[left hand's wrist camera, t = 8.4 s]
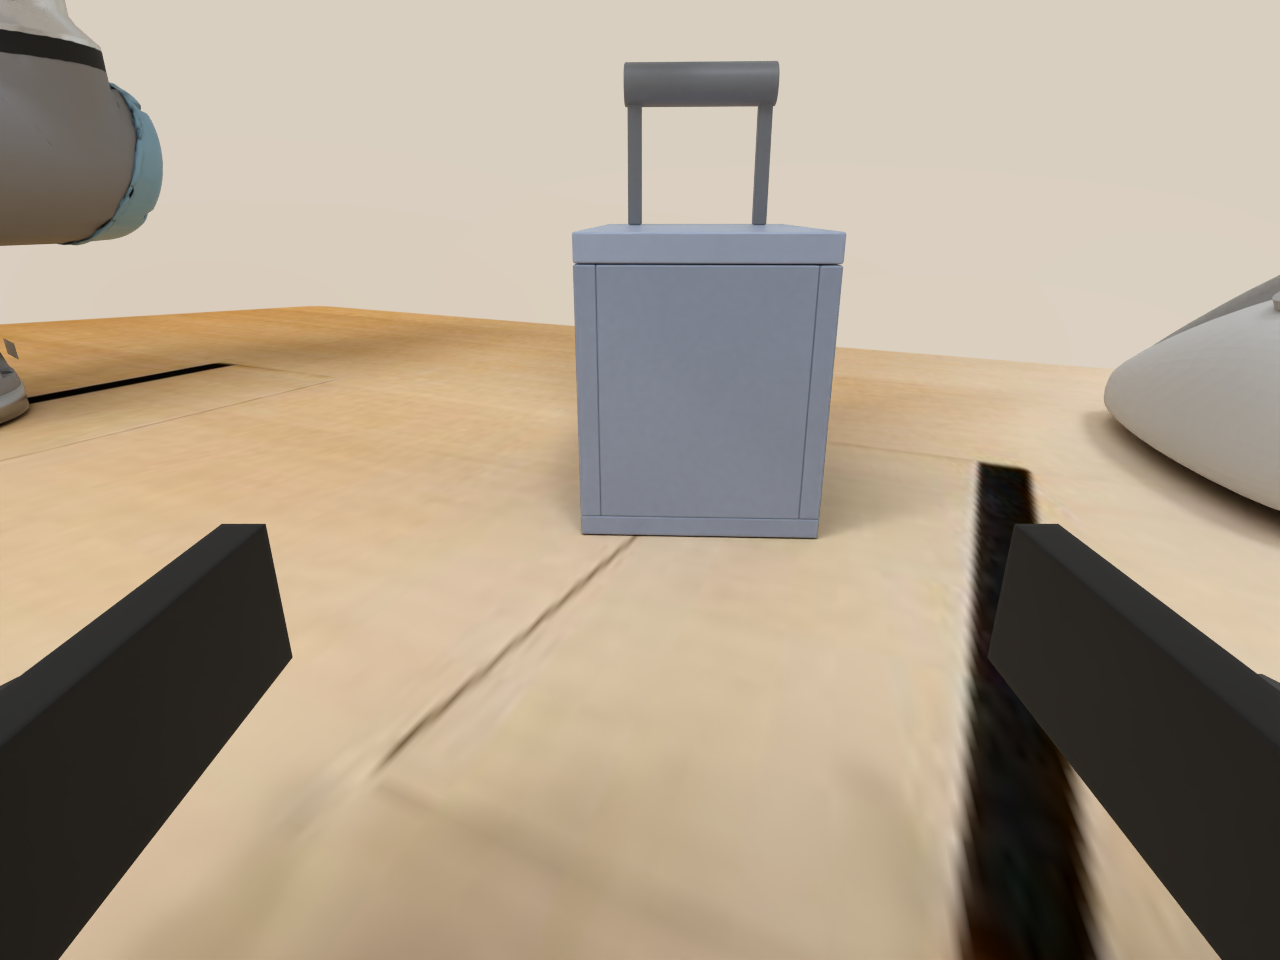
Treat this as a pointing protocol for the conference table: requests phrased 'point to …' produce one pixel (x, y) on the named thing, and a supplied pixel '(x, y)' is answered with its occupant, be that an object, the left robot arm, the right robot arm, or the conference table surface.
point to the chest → (704, 396)
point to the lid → (704, 241)
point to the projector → (1212, 395)
